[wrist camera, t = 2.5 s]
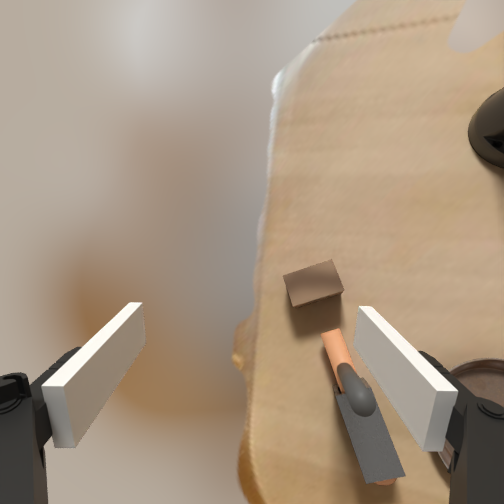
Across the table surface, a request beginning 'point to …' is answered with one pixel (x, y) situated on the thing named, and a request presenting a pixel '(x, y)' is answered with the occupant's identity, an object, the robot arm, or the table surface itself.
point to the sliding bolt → (349, 379)
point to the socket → (313, 283)
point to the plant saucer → (478, 387)
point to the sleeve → (370, 441)
